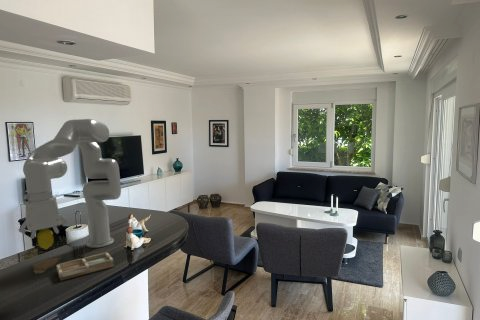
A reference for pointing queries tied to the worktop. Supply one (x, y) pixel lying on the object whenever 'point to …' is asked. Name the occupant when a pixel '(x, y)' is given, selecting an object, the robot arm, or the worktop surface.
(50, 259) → the pottery shard
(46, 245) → the lemon
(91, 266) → the tray
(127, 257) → the worktop surface
